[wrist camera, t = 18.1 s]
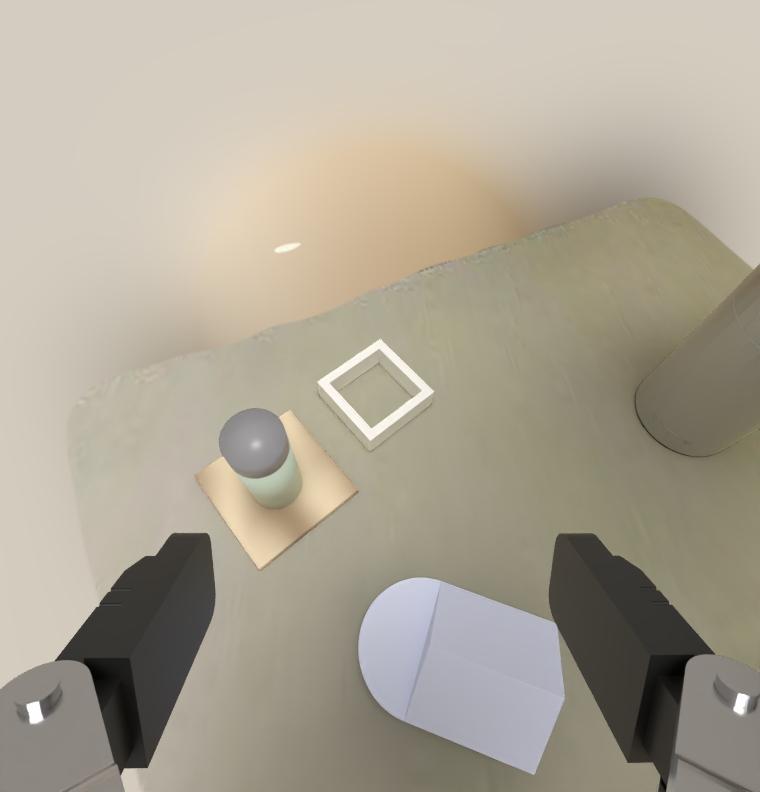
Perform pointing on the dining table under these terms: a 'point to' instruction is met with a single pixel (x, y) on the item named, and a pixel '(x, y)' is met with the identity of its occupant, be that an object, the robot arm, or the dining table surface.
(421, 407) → the collar
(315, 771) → the dining table surface
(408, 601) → the wedge on round base
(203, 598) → the robot arm
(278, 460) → the plug
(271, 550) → the pad
